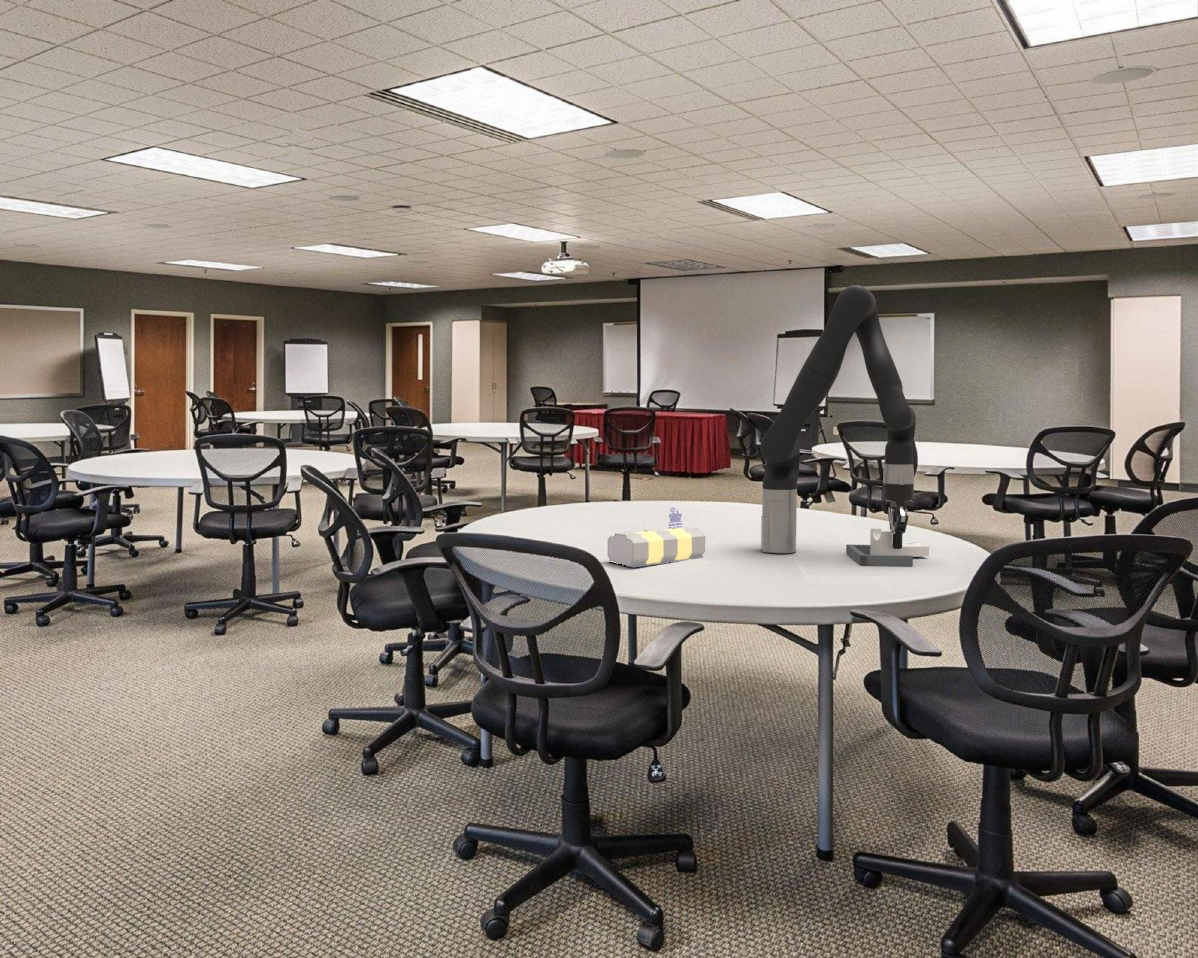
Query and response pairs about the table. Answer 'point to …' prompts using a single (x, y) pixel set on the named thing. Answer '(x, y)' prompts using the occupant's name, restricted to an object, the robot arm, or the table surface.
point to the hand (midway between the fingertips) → (897, 548)
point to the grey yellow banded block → (657, 545)
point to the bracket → (883, 546)
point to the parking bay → (876, 557)
